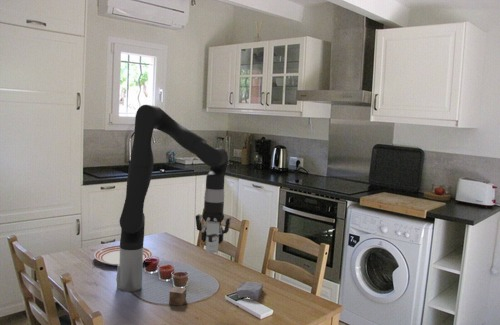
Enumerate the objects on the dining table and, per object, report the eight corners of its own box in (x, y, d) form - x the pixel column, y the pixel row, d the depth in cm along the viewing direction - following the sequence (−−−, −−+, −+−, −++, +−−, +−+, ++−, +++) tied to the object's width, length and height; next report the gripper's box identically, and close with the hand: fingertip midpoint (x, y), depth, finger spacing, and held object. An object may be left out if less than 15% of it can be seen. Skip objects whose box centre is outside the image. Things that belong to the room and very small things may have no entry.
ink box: (205, 246, 177) (207, 217, 175) (217, 246, 177) (219, 217, 176) (205, 253, 168) (206, 222, 167) (218, 253, 169) (219, 223, 167)
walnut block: (169, 304, 169) (169, 291, 169) (173, 298, 174) (174, 286, 174) (181, 305, 168) (182, 293, 168) (185, 300, 173) (186, 288, 173)
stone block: (235, 302, 178) (259, 301, 176) (233, 291, 178) (258, 289, 176) (241, 292, 190) (264, 290, 188) (240, 281, 190) (262, 279, 188)
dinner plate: (164, 259, 219) (164, 252, 219) (121, 274, 196) (121, 267, 196) (126, 247, 234) (126, 241, 233) (81, 260, 211) (81, 253, 210)
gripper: (234, 199, 173) (232, 241, 175) (199, 196, 176) (197, 237, 177) (230, 203, 166) (227, 247, 168) (193, 199, 168) (191, 242, 170)
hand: (212, 242), depth 172 cm, fingers closed on ink box, 5 cm apart
